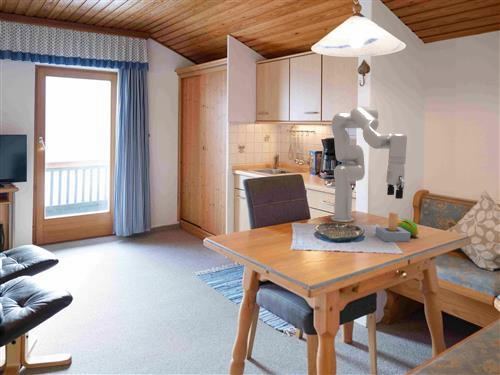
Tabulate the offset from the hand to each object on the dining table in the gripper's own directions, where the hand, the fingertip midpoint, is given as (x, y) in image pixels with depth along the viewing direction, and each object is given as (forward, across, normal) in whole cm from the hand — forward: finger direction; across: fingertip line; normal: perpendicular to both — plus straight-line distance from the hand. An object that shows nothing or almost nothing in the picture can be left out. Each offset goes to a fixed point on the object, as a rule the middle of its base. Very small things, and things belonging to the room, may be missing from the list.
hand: (394, 196), depth 201 cm
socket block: (+20, 0, 0) cm, 20 cm away
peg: (+20, 0, 0) cm, 20 cm away
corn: (+20, -8, +10) cm, 24 cm away
